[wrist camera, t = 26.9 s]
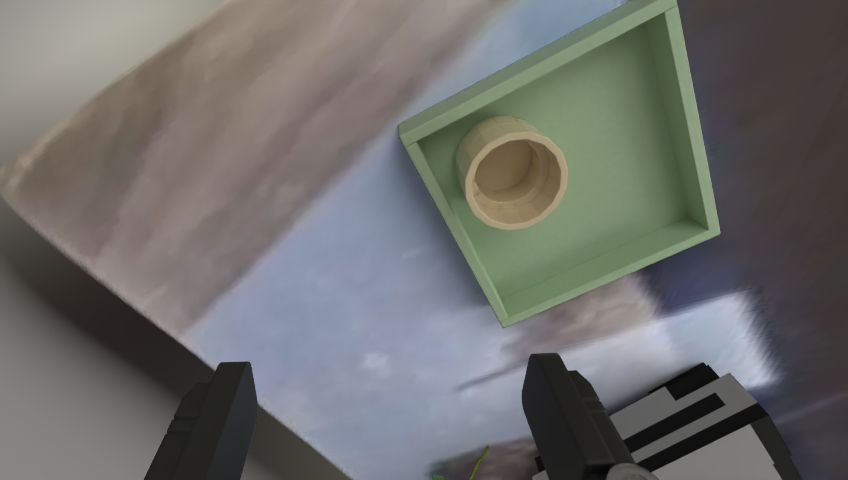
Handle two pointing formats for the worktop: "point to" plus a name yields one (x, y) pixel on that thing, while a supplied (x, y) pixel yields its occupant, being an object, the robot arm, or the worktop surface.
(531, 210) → the beige cup
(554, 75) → the tray
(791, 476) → the game console
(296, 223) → the worktop surface
